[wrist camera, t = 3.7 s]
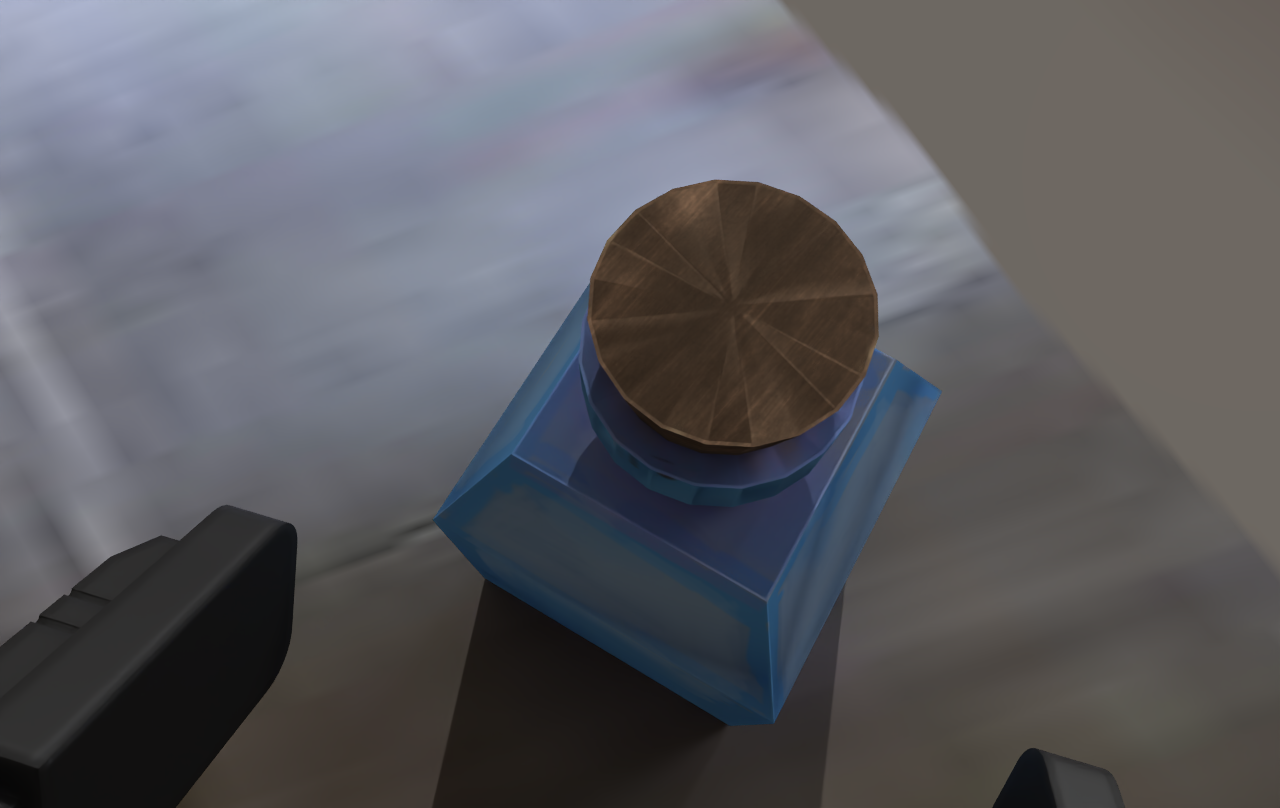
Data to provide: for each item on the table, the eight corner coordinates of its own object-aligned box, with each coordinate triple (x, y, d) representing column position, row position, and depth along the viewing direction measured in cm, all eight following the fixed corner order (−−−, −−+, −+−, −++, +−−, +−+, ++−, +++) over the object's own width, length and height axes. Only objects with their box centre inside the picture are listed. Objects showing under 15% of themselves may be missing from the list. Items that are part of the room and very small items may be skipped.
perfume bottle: (625, 354, 23) (630, -11, 12) (856, 481, 22) (1105, 218, 11) (484, 578, 21) (328, 403, 10) (729, 725, 20) (866, 718, 9)
